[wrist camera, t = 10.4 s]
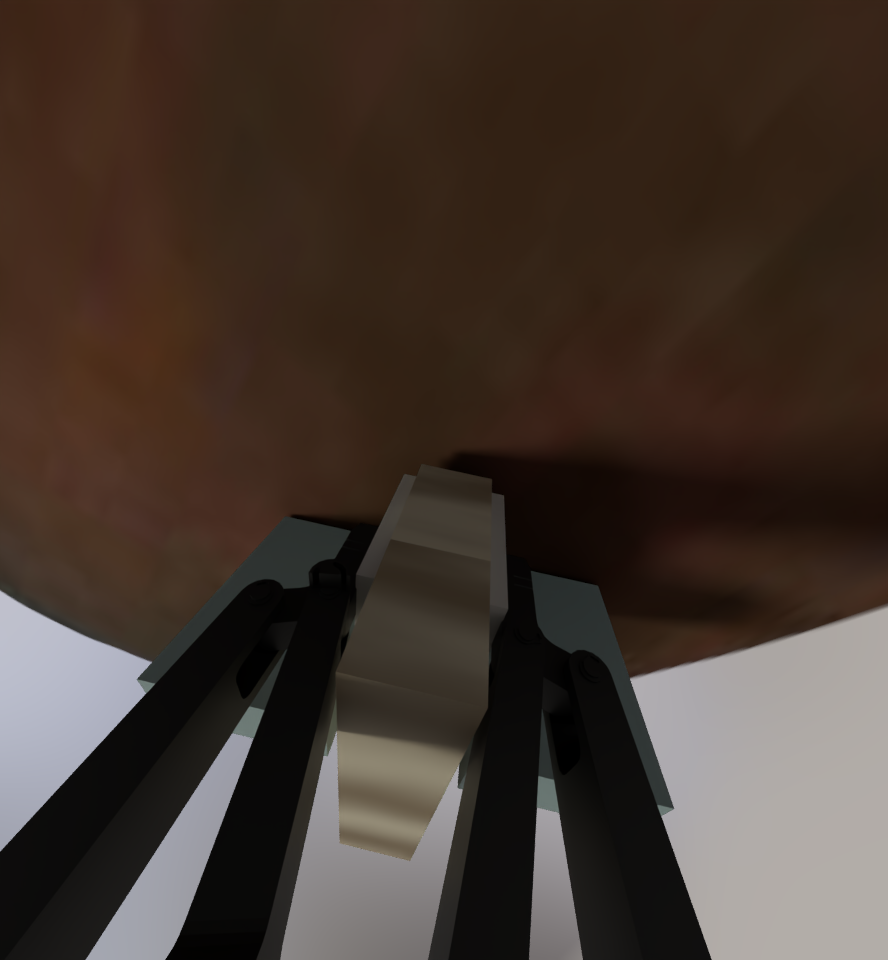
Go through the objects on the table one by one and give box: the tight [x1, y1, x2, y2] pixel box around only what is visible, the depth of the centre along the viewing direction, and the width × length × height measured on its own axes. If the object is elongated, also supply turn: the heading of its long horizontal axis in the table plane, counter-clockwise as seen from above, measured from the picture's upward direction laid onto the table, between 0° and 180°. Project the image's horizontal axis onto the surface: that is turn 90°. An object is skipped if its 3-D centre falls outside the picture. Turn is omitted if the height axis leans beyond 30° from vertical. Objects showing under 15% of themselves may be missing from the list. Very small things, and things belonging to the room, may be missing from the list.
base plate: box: [137, 516, 674, 816], centre depth 17 cm, size 20×3×10 cm, turn 80°
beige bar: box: [336, 464, 492, 861], centre depth 16 cm, size 16×4×10 cm, turn 170°
